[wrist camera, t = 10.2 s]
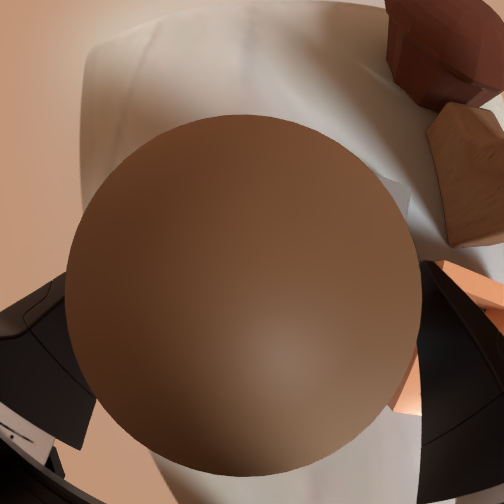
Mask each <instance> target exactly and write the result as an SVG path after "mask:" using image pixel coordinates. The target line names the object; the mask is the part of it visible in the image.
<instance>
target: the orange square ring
mask: <svg viewBox="0 0 504 504" xmlns="http://www.w3.org/2000/svg"><path fill="white" fill-rule="evenodd" d="M435 263H436V264H437V265H438V266H439V267H440V268H441V269H442V270H443V271H444V272H445V273H446V274H447V275H448V276H449V277H450V278H451V279H452V280H453V281H454V282H455V283H456V284H457V285H458V286H459V287H460V288H461V289H462V290H463V291H464V292H465V293H466V294H467V295H468V296H469V297H470V298H471V299H472V300H473V301H474V303H475V304H476V305H477V306H479V307H482V308H484V309H486V311H485V315H486V316H487V317H488V318H489V319H490V320H491V321H492V323H493V324H494V325H495V326H496V327H497V328H498V330H499V331H500V332H501V333H502V334H503V336H504V285H503V284H501V283H498V282H496V281H494V280H492V279H489V278H487V277H485V276H482V275H480V274H478V273H475V272H473V271H470V270H468V269H466V268H463V267H461V266H458V265H456V264H453V263H451V262H448V261H446V260H442V261H436V262H435ZM388 406H389V407H390V408H391V410H392V411H394V412H400V413H406V414H412V415H419V416H422V414H421V388H420V373H419V362H418V352H417V343H416V345H415V349H414V353H413V355H412V358H411V360H410V363H409V365H408V368H407V370H406V373H405V375H404V377H403V379H402V381H401V383H400V385H399V386H398V388H397V390H396V391H395V393H394V395H393V396H392V398H391V400H390V401H389V402H388Z"/></svg>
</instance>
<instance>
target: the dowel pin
mask: <svg viewBox="0 0 504 504" xmlns="http://www.w3.org/2000/svg"><path fill="white" fill-rule="evenodd" d="M66 270H67V271H66V280H65V311H66V319H67V326H68V332H69V336H70V340H71V344H72V348H73V351H74V354H75V356H76V359H77V362H78V364H79V367H80V369H81V372H82V374H83V375H84V377H85V379H86V381H87V383H88V385H89V387H90V389H91V390H92V392H93V393H94V395H95V396H96V398H97V399H98V401H99V402H100V403H101V405H102V406H103V408H104V409H105V410H106V411H107V412H108V413H109V415H110V416H111V417H112V418H113V419H114V420H115V421H116V422H117V424H119V425H120V426H121V427H122V428H123V429H124V430H125V431H126V432H127V433H129V434H130V435H131V436H132V437H133V438H134V439H136V440H137V441H138V442H140V443H141V444H143V445H144V446H146V447H147V448H148V449H150V450H151V451H153V452H155V453H157V454H159V455H161V456H162V457H164V458H166V459H168V460H170V461H172V462H175V463H177V464H180V465H183V466H185V467H188V468H191V469H194V470H198V471H202V472H207V473H211V474H216V475H225V476H235V477H251V476H266V475H272V474H278V473H283V472H288V471H291V470H294V469H297V468H300V467H303V466H306V465H309V464H312V463H314V462H316V461H318V460H320V459H322V458H324V457H326V456H328V455H330V454H332V453H334V452H335V451H337V450H338V449H340V448H341V447H343V446H344V445H346V444H347V443H349V442H350V441H352V440H353V439H354V438H355V437H357V436H358V435H359V434H360V433H361V432H362V431H363V430H364V429H365V428H367V427H368V426H369V425H370V424H371V423H372V422H373V421H374V420H375V418H376V417H377V416H378V415H379V414H380V412H381V411H382V410H383V409H384V408H385V406H386V405H387V404H388V402H389V401H390V400H391V398H392V396H393V395H394V393H395V391H396V390H397V388H398V386H399V385H400V383H401V381H402V379H403V377H404V375H405V373H406V370H407V368H408V365H409V363H410V360H411V358H412V355H413V353H414V349H415V345H416V341H417V337H418V332H419V328H420V319H421V308H422V287H421V273H420V268H419V263H418V258H417V253H416V249H415V245H414V242H413V239H412V237H411V234H410V231H409V228H408V226H407V223H406V221H405V219H404V217H403V215H402V213H401V211H400V209H399V208H398V206H397V204H396V202H395V200H394V199H393V197H392V196H391V194H390V193H389V192H388V190H387V189H386V188H385V186H384V185H383V184H382V182H381V181H380V180H379V178H378V177H377V176H376V175H375V174H374V173H373V172H372V171H371V170H370V169H369V168H368V167H367V166H366V165H365V164H364V163H363V162H362V161H361V160H360V159H359V158H358V157H357V156H355V155H354V154H353V153H351V152H350V151H349V150H347V149H346V148H345V147H343V146H342V145H340V144H339V143H338V142H336V141H334V140H332V139H330V138H329V137H327V136H325V135H323V134H321V133H319V132H318V131H315V130H313V129H310V128H308V127H305V126H302V125H300V124H297V123H294V122H291V121H286V120H282V119H278V118H273V117H267V116H257V115H224V116H218V117H212V118H206V119H201V120H198V121H194V122H191V123H188V124H185V125H181V126H179V127H177V128H174V129H172V130H170V131H168V132H165V133H163V134H161V135H159V136H158V137H156V138H154V139H153V140H151V141H149V142H148V143H146V144H144V145H143V146H141V147H140V148H139V149H137V150H136V151H135V152H134V153H132V154H131V155H130V156H129V157H127V158H126V159H125V160H124V161H123V162H122V163H121V164H120V165H119V166H118V167H117V168H116V169H115V170H114V171H113V172H112V173H111V174H110V175H109V176H108V178H107V179H106V180H105V181H104V183H103V184H102V185H101V186H100V188H99V189H98V190H97V192H96V193H95V195H94V197H93V198H92V200H91V202H90V203H89V205H88V207H87V208H86V210H85V212H84V214H83V217H82V219H81V221H80V223H79V225H78V228H77V231H76V234H75V236H74V239H73V242H72V246H71V250H70V254H69V259H68V264H67V269H66Z"/></svg>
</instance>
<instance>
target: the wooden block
mask: <svg viewBox="0 0 504 504" xmlns="http://www.w3.org/2000/svg"><path fill="white" fill-rule="evenodd" d="M427 137H428V141H429V144H430V148H431V152H432V155H433V159H434V163H435V168H436V172H437V176H438V181H439V186H440V190H441V196H442V201H443V207H444V213H445V219H446V227H447V234H448V243H449V246H450V247H453V248H465V247H478V246H490V245H495V244H499V243H503V242H504V132H503V130H502V128H501V126H500V124H499V122H498V120H497V119H496V117H495V115H494V114H493V112H491V111H490V110H487V109H483V108H478V107H474V106H470V105H465V104H460V103H455V102H449V103H447V104H446V105H445V106H444V108H443V109H442V110H441V112H440V113H439V114H438V116H437V117H436V118H435V120H434V121H433V122H432V124H431V125H430V126H429V127H428V129H427Z"/></svg>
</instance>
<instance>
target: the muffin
mask: <svg viewBox="0 0 504 504" xmlns="http://www.w3.org/2000/svg"><path fill="white" fill-rule="evenodd" d="M385 6H386V12H387V13H388V15H389V28H388V43H387V55H386V60H387V62H388V64H389V66H390V68H391V71H392V75H393V79H394V82H395V83H396V84H397V85H398V86H400V87H401V88H402V89H403V90H404V91H406V92H407V93H408V94H409V95H410V97H411V98H412V99H413V100H414V101H415V102H416V103H417V104H418V105H419V106H422V107H424V108H427V109H430V110H433V111H435V112H437V113H438V114H439V113H440V112H441V110H442V109H443V108H444V106H445V105H446V104H447V103H449V102H455V103H460V104H465V105H470V106H474V107H478V108H479V107H480V106H482V105H483V104H485V103H486V102H488V101H489V100H491V99H492V98H494V97H495V96H497V95H498V94H500V93H501V92H503V91H504V22H503V21H502V19H501V18H500V17H499V15H498V14H497V13H496V12H495V11H494V10H493V9H492V8H491V7H490V6H489V5H487V4H486V3H485V2H484V1H482V0H385Z"/></svg>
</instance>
